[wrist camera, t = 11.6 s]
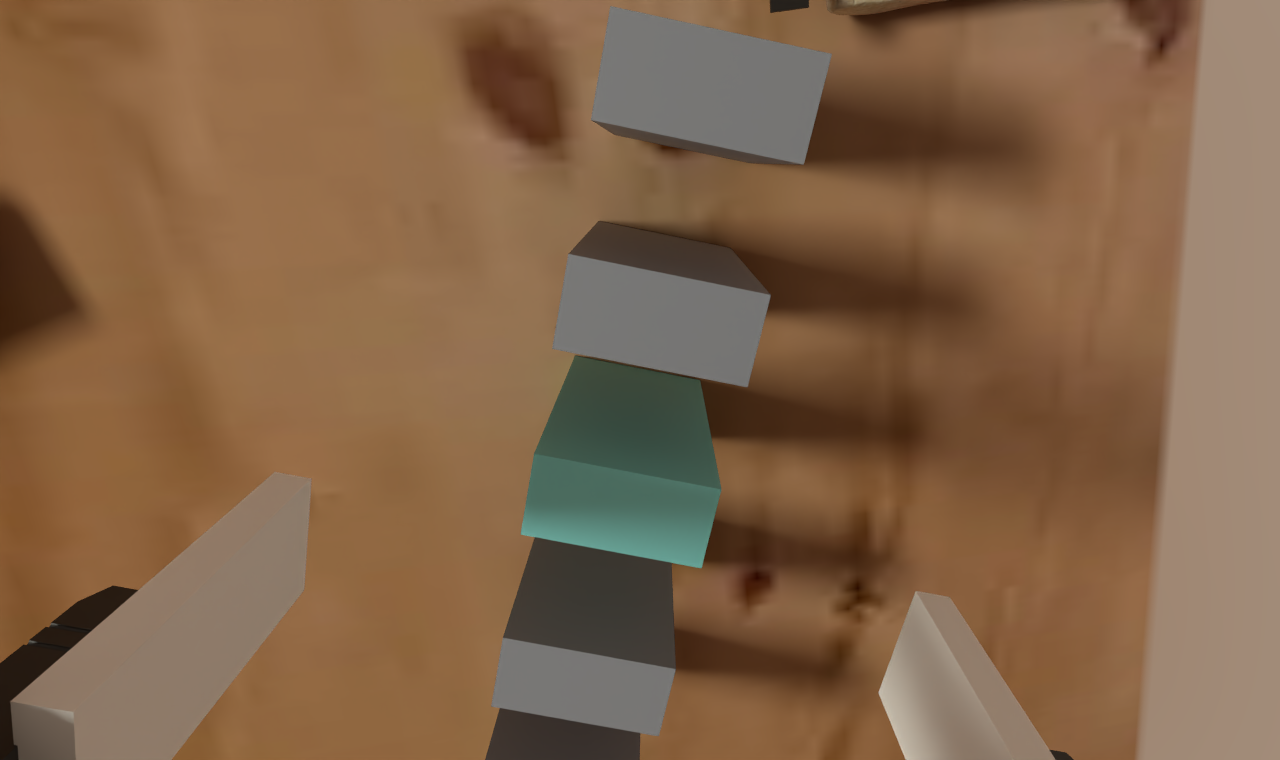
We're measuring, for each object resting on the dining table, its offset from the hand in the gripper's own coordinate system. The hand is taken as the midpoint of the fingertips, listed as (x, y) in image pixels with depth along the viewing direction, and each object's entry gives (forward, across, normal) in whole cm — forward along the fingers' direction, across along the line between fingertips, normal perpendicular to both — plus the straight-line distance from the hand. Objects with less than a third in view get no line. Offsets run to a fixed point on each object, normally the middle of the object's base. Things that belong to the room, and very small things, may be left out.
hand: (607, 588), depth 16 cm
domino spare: (+14, 0, 0) cm, 14 cm away
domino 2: (+14, 0, +5) cm, 15 cm away
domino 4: (+14, 0, -6) cm, 15 cm away
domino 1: (+14, 0, +10) cm, 18 cm away
